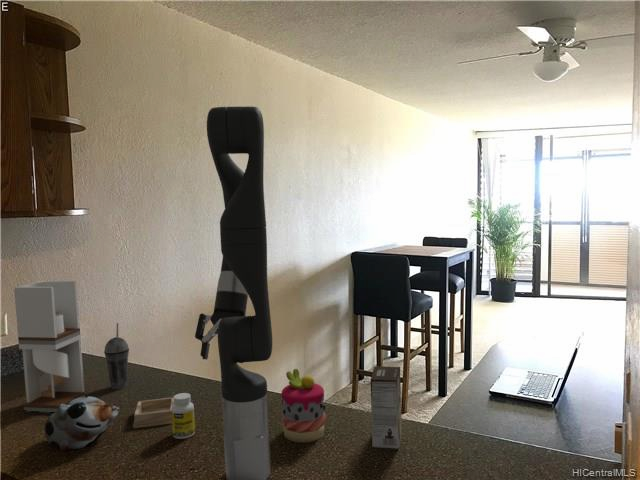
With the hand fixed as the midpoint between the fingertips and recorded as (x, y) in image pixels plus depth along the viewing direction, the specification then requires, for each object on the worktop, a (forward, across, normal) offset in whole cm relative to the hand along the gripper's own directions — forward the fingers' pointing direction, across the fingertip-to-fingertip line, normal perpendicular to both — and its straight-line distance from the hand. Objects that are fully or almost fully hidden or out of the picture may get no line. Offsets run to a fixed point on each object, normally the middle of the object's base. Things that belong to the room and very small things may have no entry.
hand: (222, 361), depth 119 cm
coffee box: (+14, +40, +8) cm, 43 cm away
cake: (+15, +20, +11) cm, 27 cm away
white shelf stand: (+16, -54, +30) cm, 64 cm away
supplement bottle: (+18, -10, +11) cm, 24 cm away
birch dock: (+16, -21, +21) cm, 33 cm away
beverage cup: (+11, -41, +42) cm, 60 cm away
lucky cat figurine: (+22, -34, +9) cm, 41 cm away
